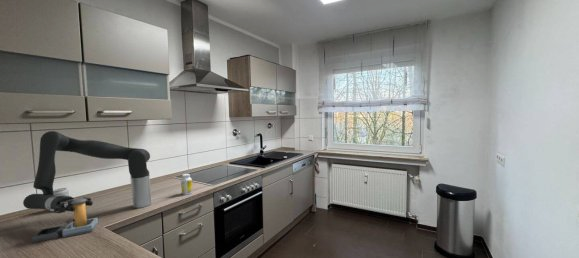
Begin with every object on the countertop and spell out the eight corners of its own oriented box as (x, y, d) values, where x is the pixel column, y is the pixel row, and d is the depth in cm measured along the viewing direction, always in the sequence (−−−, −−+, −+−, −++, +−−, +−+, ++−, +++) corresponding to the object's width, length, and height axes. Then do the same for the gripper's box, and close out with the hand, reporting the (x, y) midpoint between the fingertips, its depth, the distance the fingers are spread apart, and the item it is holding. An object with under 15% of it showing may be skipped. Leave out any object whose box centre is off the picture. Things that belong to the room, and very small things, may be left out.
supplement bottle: (193, 191, 164) (192, 173, 164) (191, 194, 158) (190, 175, 157) (183, 192, 163) (182, 173, 163) (180, 195, 157) (179, 176, 156)
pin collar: (41, 234, 107) (41, 229, 107) (65, 230, 111) (65, 224, 111) (32, 242, 100) (31, 237, 100) (58, 237, 103) (57, 232, 103)
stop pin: (76, 226, 111) (73, 199, 111) (90, 224, 114) (87, 197, 113) (71, 231, 107) (69, 203, 106) (86, 228, 109) (84, 201, 108)
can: (49, 210, 138) (47, 190, 138) (65, 206, 145) (63, 186, 145) (57, 212, 135) (55, 191, 135) (72, 207, 143) (71, 187, 142)
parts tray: (71, 228, 112) (71, 222, 112) (98, 223, 117) (97, 217, 117) (63, 237, 103) (62, 230, 103) (91, 231, 108) (91, 225, 108)
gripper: (39, 200, 107) (63, 203, 102) (76, 191, 121) (99, 193, 116) (41, 217, 108) (64, 220, 102) (77, 205, 121) (100, 208, 116)
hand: (82, 206), depth 109 cm, fingers open, 6 cm apart
